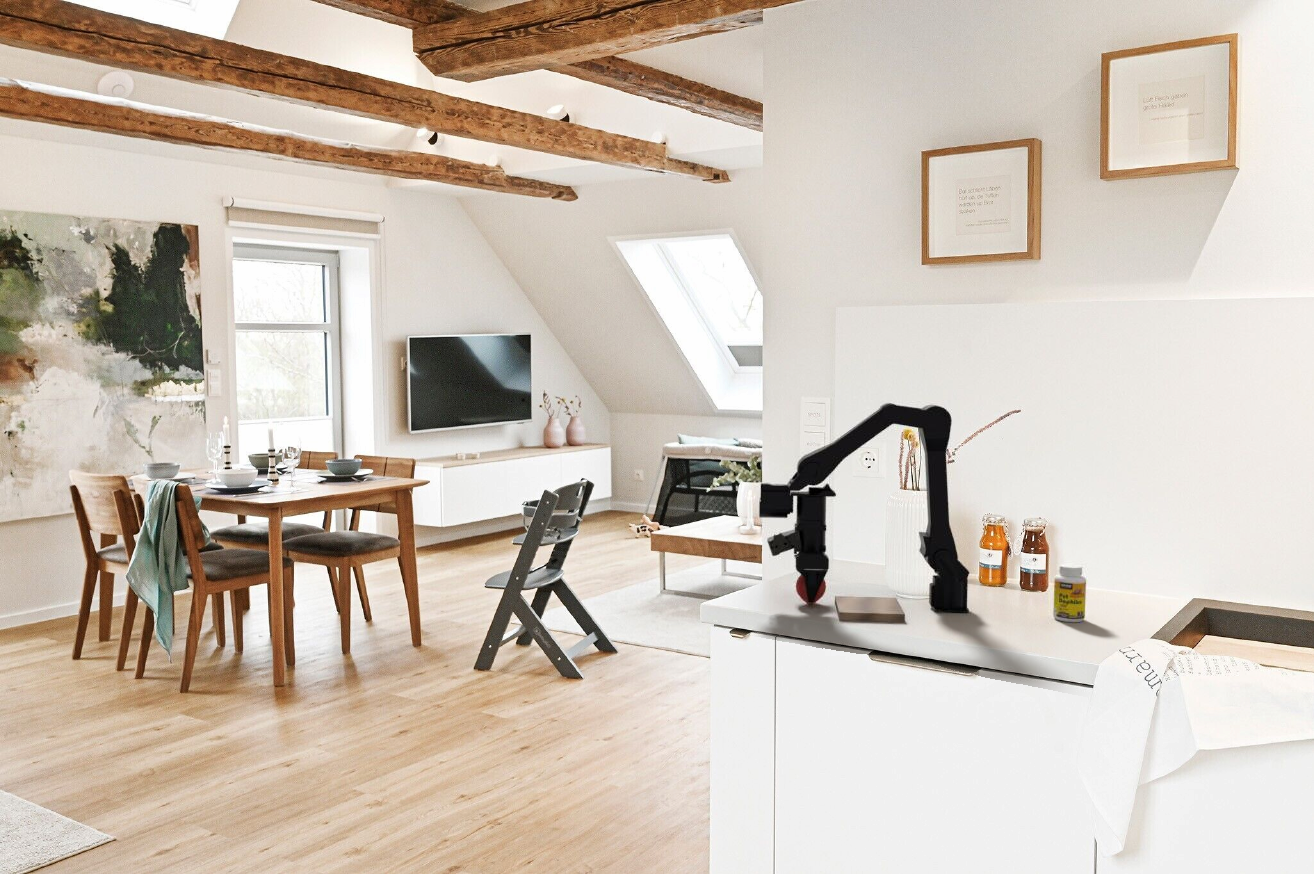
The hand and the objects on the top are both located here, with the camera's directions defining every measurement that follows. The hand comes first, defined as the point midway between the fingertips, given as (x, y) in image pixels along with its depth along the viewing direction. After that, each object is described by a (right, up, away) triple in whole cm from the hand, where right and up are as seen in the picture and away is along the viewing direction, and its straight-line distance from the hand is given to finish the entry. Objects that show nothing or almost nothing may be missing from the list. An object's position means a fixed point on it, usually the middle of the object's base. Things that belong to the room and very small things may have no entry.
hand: (809, 596), depth 213 cm
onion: (0, -2, 0) cm, 2 cm away
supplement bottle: (+47, -3, -11) cm, 48 cm away
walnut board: (+10, -2, -6) cm, 12 cm away
